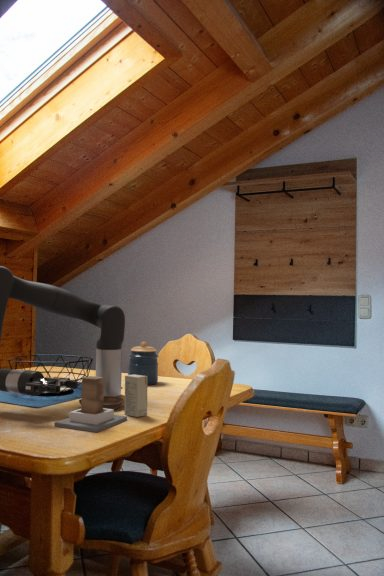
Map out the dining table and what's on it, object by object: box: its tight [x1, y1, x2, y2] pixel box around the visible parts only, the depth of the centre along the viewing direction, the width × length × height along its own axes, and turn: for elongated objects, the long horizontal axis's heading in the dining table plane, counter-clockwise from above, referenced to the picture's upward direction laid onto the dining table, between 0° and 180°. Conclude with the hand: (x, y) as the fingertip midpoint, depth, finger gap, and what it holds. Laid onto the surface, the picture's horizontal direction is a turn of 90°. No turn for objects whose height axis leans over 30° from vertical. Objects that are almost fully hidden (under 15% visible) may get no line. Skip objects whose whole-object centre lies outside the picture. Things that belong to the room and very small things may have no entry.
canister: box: [127, 341, 159, 386], centre depth 217 cm, size 13×13×18 cm
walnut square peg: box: [80, 375, 104, 414], centre depth 147 cm, size 4×4×12 cm
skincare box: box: [124, 374, 148, 418], centre depth 159 cm, size 6×4×12 cm
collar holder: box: [53, 408, 128, 433], centre depth 147 cm, size 16×14×4 cm
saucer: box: [78, 396, 125, 411], centre depth 168 cm, size 15×15×3 cm
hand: (68, 387), depth 150 cm, fingers open, 8 cm apart
